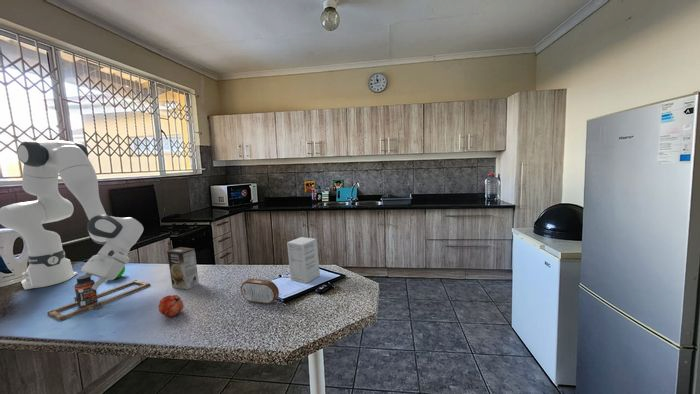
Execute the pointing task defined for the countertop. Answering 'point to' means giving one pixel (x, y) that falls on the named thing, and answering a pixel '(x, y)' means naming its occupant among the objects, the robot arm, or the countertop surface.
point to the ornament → (121, 272)
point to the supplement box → (303, 259)
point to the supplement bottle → (85, 291)
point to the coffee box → (183, 267)
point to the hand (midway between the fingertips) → (86, 287)
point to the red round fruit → (170, 305)
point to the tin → (259, 291)
